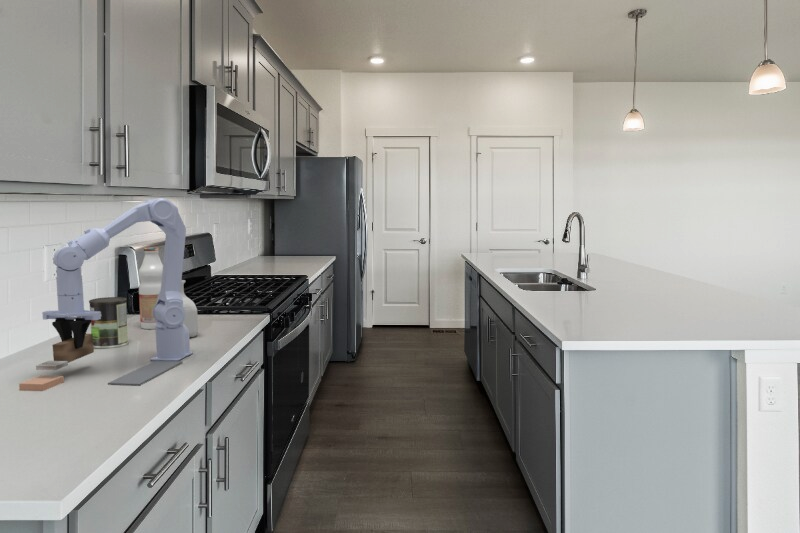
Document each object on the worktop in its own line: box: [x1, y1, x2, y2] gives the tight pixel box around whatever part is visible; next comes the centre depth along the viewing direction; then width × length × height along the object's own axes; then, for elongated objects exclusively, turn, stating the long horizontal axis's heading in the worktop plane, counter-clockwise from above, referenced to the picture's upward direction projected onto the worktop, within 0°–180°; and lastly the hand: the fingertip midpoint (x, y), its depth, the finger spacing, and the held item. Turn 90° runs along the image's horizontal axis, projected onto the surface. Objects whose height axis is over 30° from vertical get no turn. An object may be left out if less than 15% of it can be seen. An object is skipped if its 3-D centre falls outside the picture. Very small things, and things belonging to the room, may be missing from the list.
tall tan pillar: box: [35, 333, 95, 371], centre depth 151 cm, size 16×5×5 cm, turn 173°
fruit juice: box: [138, 246, 163, 330], centre depth 212 cm, size 9×9×28 cm
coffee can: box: [88, 296, 129, 349], centre depth 185 cm, size 10×10×14 cm
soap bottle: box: [180, 279, 199, 338], centre depth 195 cm, size 10×10×23 cm
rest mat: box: [107, 360, 184, 386], centre depth 153 cm, size 21×8×1 cm, turn 173°
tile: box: [18, 374, 65, 392], centre depth 142 cm, size 2×6×7 cm
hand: (73, 347), depth 153 cm, fingers closed on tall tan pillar, 2 cm apart
